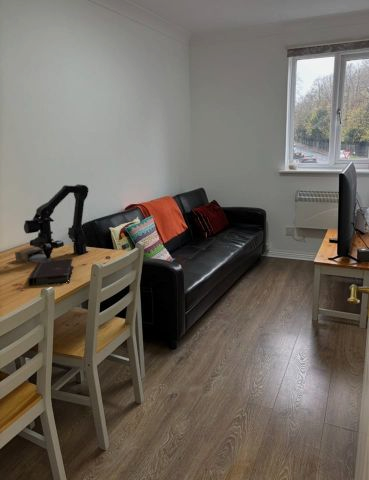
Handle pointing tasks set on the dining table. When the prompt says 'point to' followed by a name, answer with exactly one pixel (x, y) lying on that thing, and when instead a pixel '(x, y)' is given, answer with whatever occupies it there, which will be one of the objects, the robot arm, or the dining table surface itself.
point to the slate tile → (37, 258)
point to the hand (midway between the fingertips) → (48, 258)
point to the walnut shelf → (27, 253)
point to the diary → (51, 272)
